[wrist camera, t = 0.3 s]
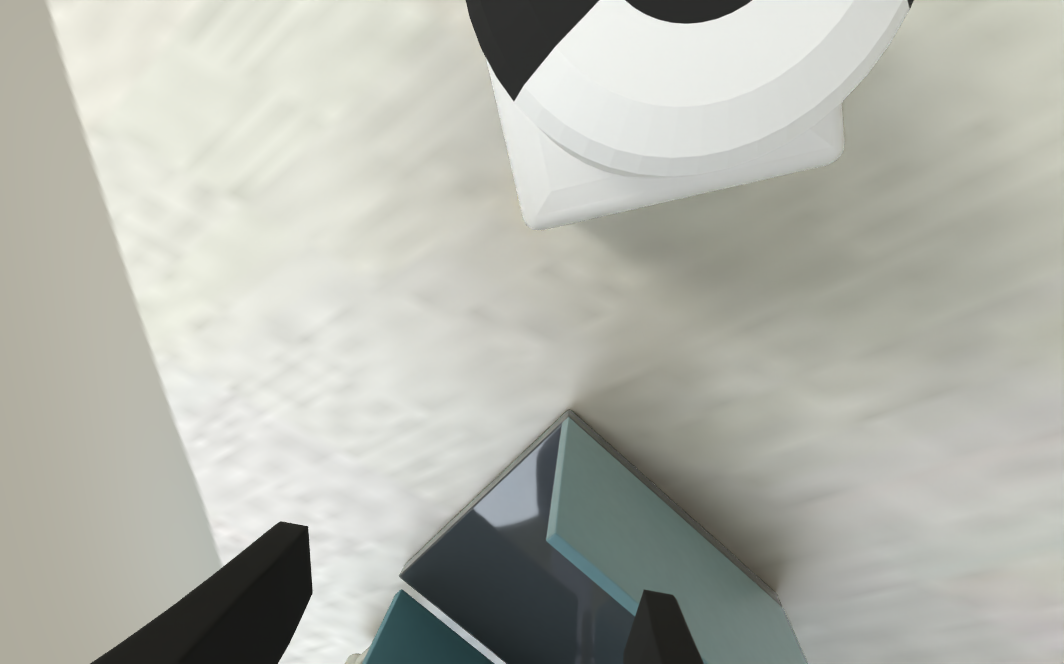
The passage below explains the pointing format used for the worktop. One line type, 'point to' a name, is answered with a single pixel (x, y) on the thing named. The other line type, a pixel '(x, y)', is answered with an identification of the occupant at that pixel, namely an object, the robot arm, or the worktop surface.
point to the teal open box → (590, 563)
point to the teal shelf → (416, 639)
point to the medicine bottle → (670, 94)
